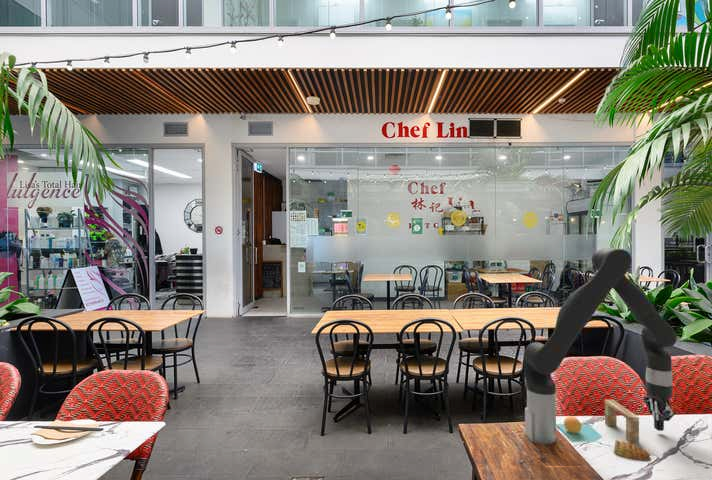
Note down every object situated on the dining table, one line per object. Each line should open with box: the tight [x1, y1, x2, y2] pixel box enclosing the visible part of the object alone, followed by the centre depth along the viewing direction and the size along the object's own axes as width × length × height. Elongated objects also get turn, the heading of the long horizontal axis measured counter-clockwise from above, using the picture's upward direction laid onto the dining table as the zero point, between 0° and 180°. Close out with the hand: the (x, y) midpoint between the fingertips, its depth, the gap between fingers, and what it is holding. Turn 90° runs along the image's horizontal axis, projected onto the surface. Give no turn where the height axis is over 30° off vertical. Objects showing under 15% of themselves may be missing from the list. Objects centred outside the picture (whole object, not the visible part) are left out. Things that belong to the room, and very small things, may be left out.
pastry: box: [613, 439, 651, 461], centre depth 125 cm, size 9×7×4 cm
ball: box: [563, 416, 581, 434], centre depth 140 cm, size 6×6×6 cm
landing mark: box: [556, 423, 603, 442], centre depth 140 cm, size 12×12×1 cm
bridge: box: [604, 399, 640, 444], centre depth 139 cm, size 3×14×9 cm, turn 177°
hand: (658, 429), depth 138 cm, fingers closed
